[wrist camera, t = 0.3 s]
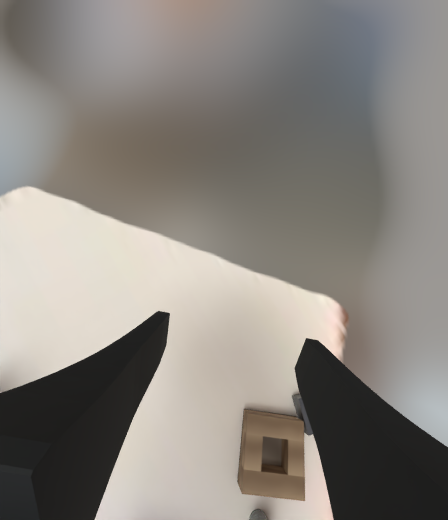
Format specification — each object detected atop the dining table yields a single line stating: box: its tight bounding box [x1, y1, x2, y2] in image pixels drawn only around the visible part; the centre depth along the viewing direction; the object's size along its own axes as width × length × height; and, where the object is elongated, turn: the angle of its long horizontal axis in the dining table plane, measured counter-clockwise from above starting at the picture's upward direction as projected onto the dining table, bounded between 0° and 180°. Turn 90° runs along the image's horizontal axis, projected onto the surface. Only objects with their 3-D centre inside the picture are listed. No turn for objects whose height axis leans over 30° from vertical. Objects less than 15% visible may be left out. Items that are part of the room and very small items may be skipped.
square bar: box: [292, 394, 313, 435], centre depth 35 cm, size 5×3×3 cm, turn 12°
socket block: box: [237, 409, 305, 501], centre depth 32 cm, size 9×9×3 cm
